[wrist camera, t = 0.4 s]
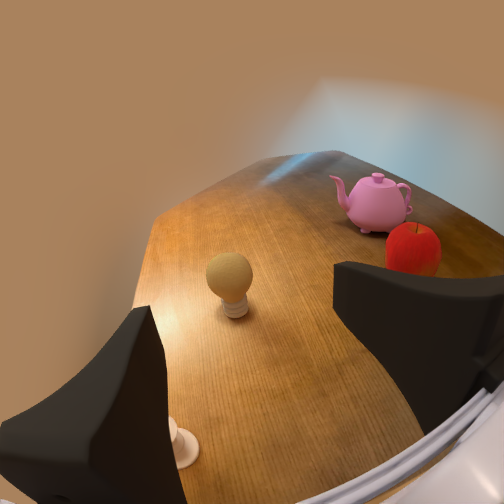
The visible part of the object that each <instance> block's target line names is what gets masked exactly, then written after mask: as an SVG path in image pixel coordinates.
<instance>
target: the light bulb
mask: <svg viewBox="0 0 504 504" xmlns="http://www.w3.org/2000/svg"><path fill="white" fill-rule="evenodd" d="M252 278H253V273H252V268H251V266H250V264H249V262H248V261H247V259H246V258H245V257H244V256H242V255H241V254H239V253H234V252H226V253H222V254H219V255H217V256H215V257H214V258H213V259H212V260H211V261H210V263H209V265H208V267H207V271H206V280H207V283H208V286H209V288H210V289H211V290H212V291H213V293H215V294H216V295H217V296H219V297H221V301H222V305H223V309H224V313H225V314H226V315H227V316H228V317H230V318H239V317H242V316H244V315H245V314H246V313H247V311H248V301H247V296H246V292H247V291H248V289H249V287H250V285H251V283H252Z"/></svg>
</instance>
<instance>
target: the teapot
mask: <svg viewBox="0 0 504 504" xmlns="http://www.w3.org/2000/svg"><path fill="white" fill-rule="evenodd" d="M330 177H331V178H332V179H333V180H334V181H335V182H336V184H337V190H338V201H339V204H340V206H341V207H342V208H343V209H344V210H345V211H346V213H347V215H348V217H349V218H350V220H351V221H352V222H353V223H354V224H355V225H357V226H358V227H360V228H361V232H363V233H370V232H371V231H378V232H383V231H386V232H388V233H390V232H391V231H392V230H393V229H395V228H396V227H397V226H399V225H400V224H402V223H403V222H404V220H405V218H406V215H410V214H411V213H412V207H411V206H410V205H408V204H409V202H410V199H411V194H412V192H411V189H410V187H409V186H408V185H406V184H404V183H399V184H397V185H396V183H395V182H394V181H392V180H390V179H387V178H384V175H383V174H381V173H373V174H372V177H365V178H362V179H360V180H359V181H358V183H357V184H356V185H355V187H354V188H353V190H352V192H351V193H350V195H349V198H348V197H347V196H346V195H345V190H344V183H343V181H342V180H341V179H340V178H338V177H335V176H330ZM399 188H406V189H407V197H406V200H405V202H404V199H403V196H402V194H401V192H400V190H399ZM407 208H410V209H409V210H408V211H406V210H407Z"/></svg>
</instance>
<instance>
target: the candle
mask: <svg viewBox="0 0 504 504" xmlns="http://www.w3.org/2000/svg"><path fill="white" fill-rule="evenodd" d="M169 429H170V436H171V441H172V446H173V451H174V456H175V460H176V464H177V469H178V470H179V469H184V468H187V467H189V466H190V465H192V464H193V463H194V462H195V461H196V459H197V457H198V456H199V451H200V447H199V443H198V440H197V439H196V437H195V436H194V435H193V434H192V433H191V432H189V431H187V430H185V429H182V428H178V427H177V424H176V422H175V421H174V419H173V418H171V417H170V416H169Z"/></svg>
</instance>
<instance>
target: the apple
mask: <svg viewBox="0 0 504 504" xmlns="http://www.w3.org/2000/svg"><path fill="white" fill-rule="evenodd" d="M441 258H442V252H441V245H440V241H439V238H438V237H437V236H436V234H435V233H434V232H433V231H432V230H431V229H430V228H428V227H426V226H424V225H422V224H419V222H418V223H415V222H406V223H402V224H400V225H399V226H397V227H396V228H395V229H393V230H392V231H391V232H390V234H389V236H388V238H387V240H386V255H385V265H386V269H390V270H394V271H399V272H404V273H409V274H415V275H420V276H428V277H433V276H434V274H435V273H436V271H437V269H438V266H439V263H440V261H441Z"/></svg>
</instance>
